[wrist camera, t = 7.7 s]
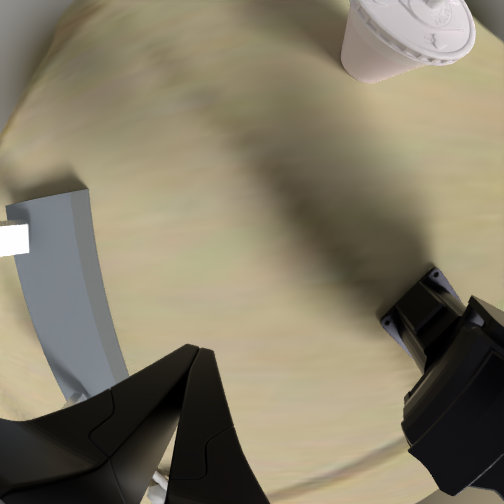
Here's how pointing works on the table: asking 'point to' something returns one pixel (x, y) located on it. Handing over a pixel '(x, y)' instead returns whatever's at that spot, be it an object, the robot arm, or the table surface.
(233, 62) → the table surface
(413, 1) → the smoothie
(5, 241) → the copper knob rod
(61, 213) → the switch board
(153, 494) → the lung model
